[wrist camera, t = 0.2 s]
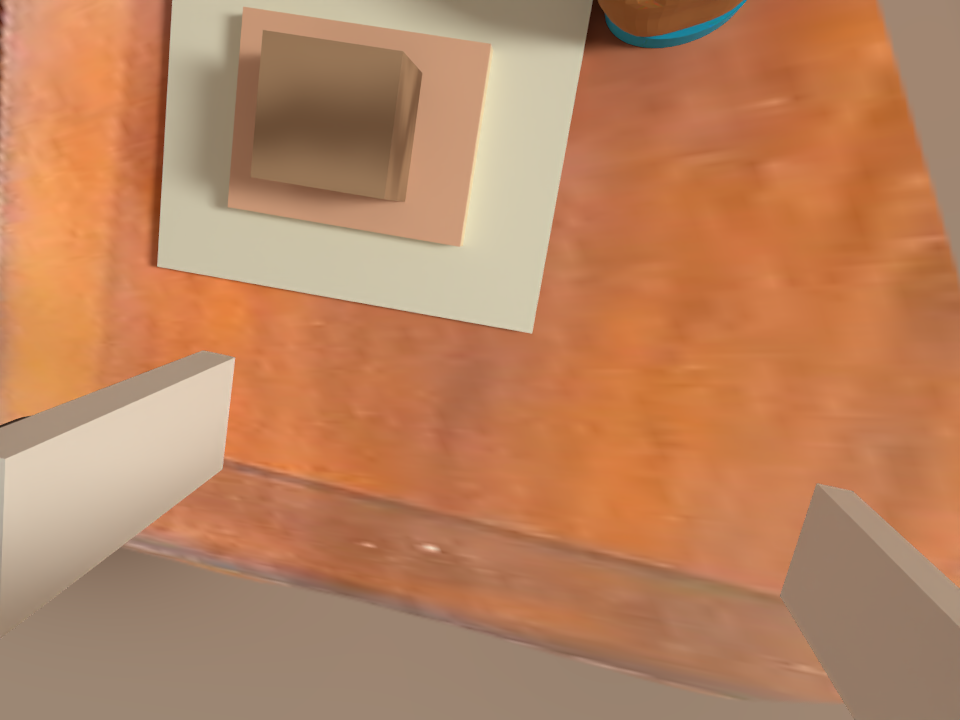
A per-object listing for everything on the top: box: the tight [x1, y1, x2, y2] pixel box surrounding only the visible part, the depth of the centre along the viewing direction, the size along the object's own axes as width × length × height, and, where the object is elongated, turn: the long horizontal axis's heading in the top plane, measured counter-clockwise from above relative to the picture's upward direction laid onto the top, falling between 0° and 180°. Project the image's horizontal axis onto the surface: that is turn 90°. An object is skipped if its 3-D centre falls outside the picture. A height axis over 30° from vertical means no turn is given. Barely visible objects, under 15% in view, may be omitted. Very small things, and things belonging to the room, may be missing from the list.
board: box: [157, 0, 593, 333], centre depth 40 cm, size 20×24×2 cm
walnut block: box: [251, 30, 422, 202], centre depth 36 cm, size 7×7×5 cm
